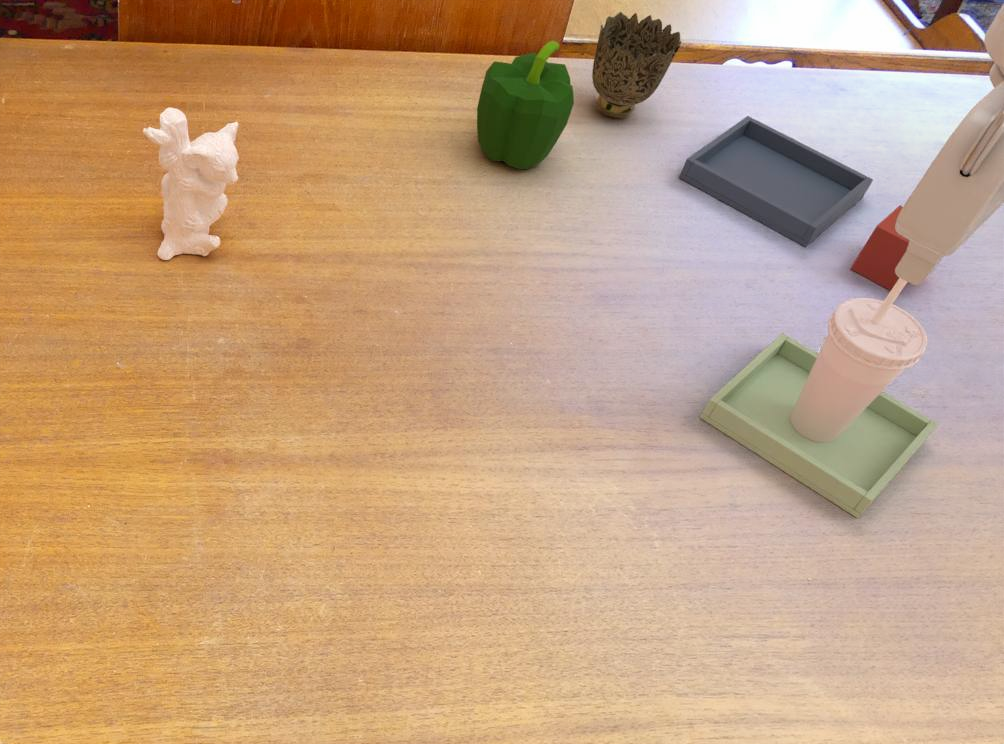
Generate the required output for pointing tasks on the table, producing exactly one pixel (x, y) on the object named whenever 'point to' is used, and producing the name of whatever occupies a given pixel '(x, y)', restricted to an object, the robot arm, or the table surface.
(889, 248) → the block
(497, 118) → the bell pepper
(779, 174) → the block tray
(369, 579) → the table surface
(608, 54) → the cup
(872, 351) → the smoothie
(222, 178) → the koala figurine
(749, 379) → the tray
